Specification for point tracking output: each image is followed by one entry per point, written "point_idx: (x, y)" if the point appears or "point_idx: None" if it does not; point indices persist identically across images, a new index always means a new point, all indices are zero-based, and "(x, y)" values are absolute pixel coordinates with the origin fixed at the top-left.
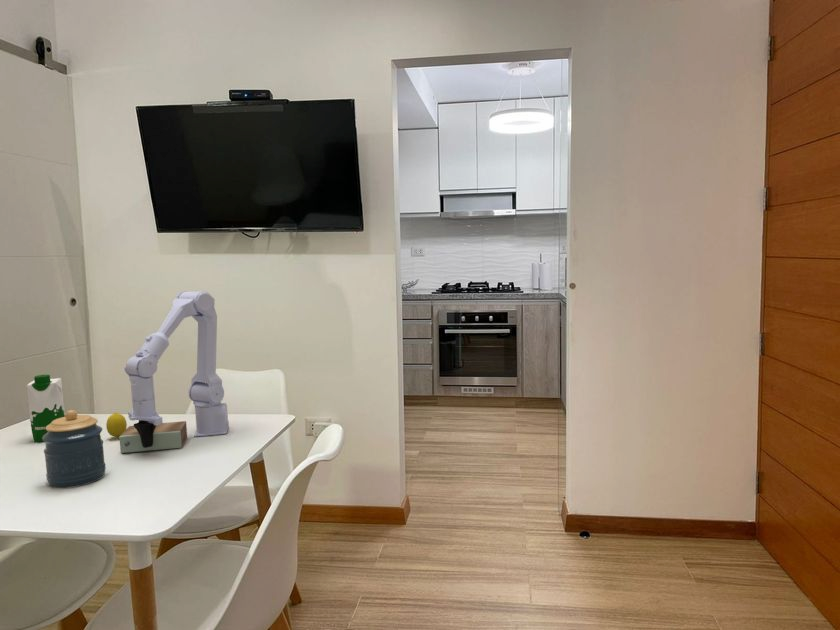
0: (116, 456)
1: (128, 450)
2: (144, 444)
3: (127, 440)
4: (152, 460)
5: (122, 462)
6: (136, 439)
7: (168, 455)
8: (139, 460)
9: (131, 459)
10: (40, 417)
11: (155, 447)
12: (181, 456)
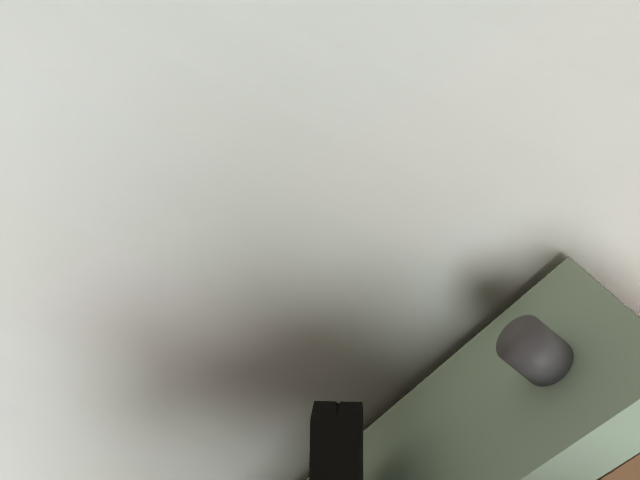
0: (545, 196)
1: (514, 316)
2: (310, 424)
3: (563, 387)
4: (136, 316)
5: (302, 143)
6: (477, 451)
7: (161, 429)
8: (224, 260)
9: (315, 234)
10: None
11: None
12: (67, 457)
